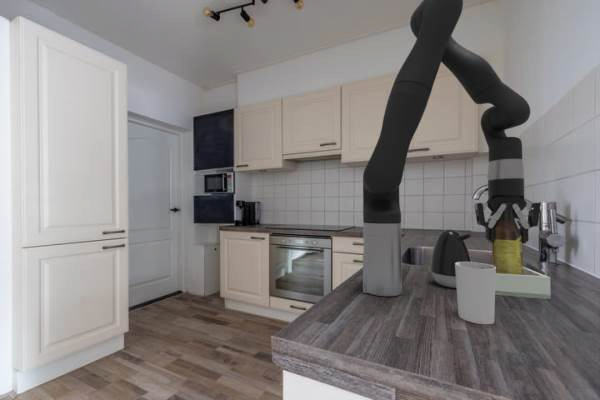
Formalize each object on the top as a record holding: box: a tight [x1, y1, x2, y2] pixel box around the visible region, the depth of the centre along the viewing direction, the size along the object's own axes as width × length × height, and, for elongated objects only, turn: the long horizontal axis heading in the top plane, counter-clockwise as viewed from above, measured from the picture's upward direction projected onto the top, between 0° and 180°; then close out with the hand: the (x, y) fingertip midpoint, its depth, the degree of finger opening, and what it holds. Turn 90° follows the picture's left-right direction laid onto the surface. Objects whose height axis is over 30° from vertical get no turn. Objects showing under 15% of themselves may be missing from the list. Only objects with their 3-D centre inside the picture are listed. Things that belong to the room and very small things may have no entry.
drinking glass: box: [455, 261, 496, 325], centre depth 52 cm, size 7×7×10 cm
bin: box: [495, 266, 552, 300], centre depth 69 cm, size 12×12×5 cm
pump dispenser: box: [429, 228, 473, 289], centre depth 73 cm, size 10×10×15 cm
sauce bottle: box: [491, 203, 524, 275], centre depth 70 cm, size 6×6×20 cm
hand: (506, 242), depth 70 cm, fingers closed on sauce bottle, 6 cm apart
